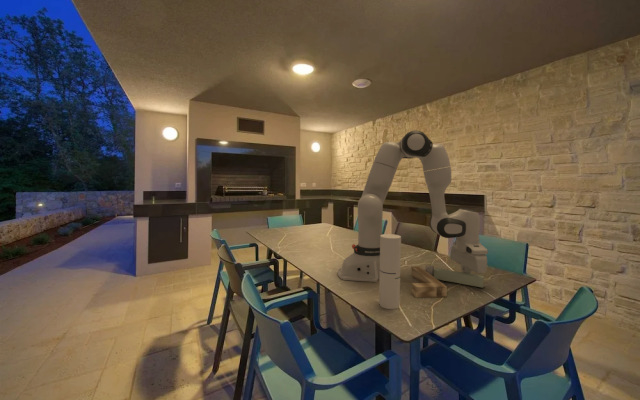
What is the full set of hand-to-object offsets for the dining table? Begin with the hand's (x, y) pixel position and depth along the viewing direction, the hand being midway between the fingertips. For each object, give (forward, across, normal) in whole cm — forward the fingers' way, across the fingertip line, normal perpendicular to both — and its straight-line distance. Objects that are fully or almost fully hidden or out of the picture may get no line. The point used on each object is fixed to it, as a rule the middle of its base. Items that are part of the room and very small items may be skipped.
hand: (466, 276), depth 113 cm
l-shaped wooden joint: (+2, +2, -23) cm, 23 cm away
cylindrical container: (+3, +19, -41) cm, 45 cm away
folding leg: (+2, 0, -6) cm, 6 cm away
